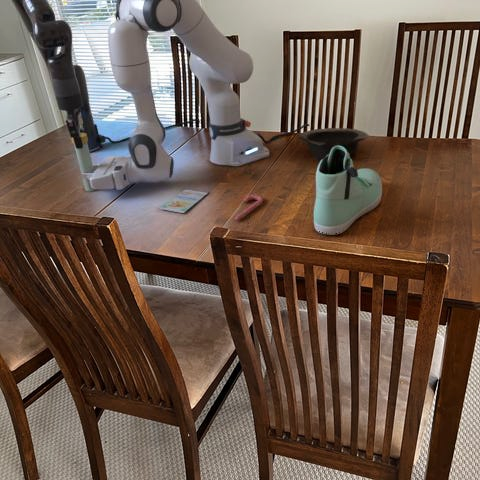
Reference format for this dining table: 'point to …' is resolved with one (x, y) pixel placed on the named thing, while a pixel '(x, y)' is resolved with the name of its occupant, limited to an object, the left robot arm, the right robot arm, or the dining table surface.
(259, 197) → the candy cane
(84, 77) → the left robot arm
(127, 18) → the right robot arm
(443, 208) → the dining table surface
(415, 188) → the dining table surface
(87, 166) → the mint green cylinder
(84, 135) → the lid
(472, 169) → the dining table surface
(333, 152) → the sneaker
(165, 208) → the baking ingredient package
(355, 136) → the stone bowl
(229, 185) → the dining table surface
